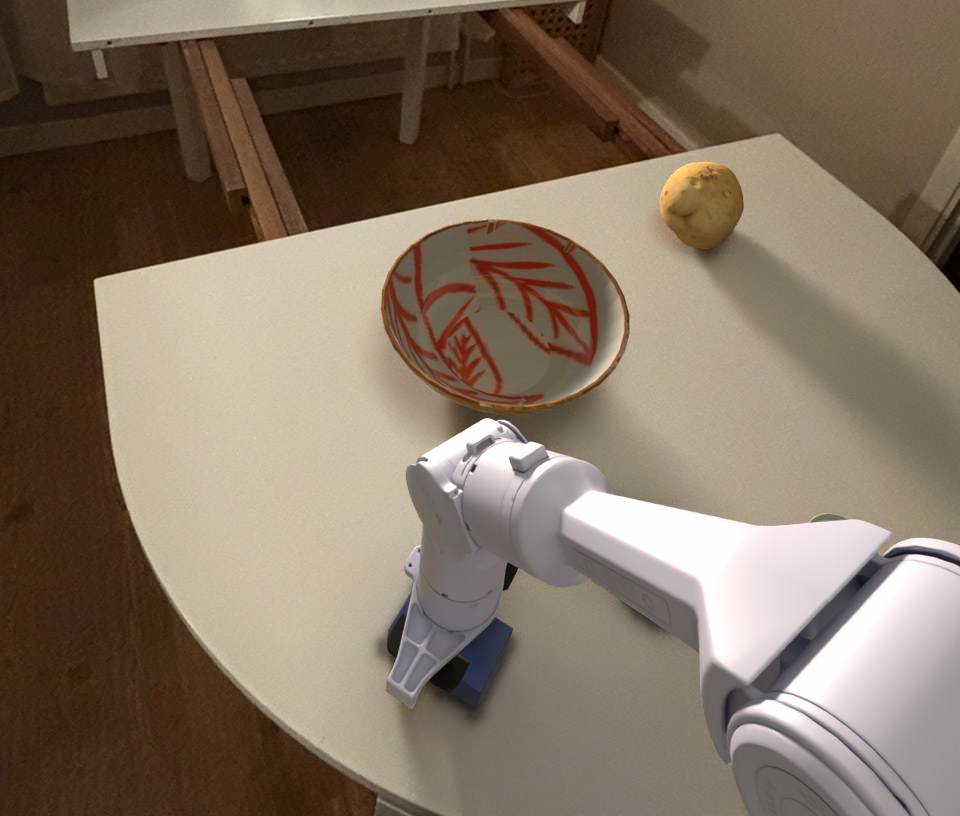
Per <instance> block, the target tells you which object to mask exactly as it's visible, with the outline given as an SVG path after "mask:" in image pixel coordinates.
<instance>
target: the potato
mask: <svg viewBox="0 0 960 816" xmlns="http://www.w3.org/2000/svg"><path fill="white" fill-rule="evenodd" d="M744 202H745V201H744V193H743V189H742V186H741V184H740V182H739V179H738V178H737V176H736V175H735V173H734V172H733V171H732V169H730V168H729V167H728V166H726V165H724V164H721V163H719V162H714V161H695V162H690V163H686V164H684V165H683V166H681V167H679V168H678V169H676V170H675V171H674V172H673V173H672V174H671V175H670V177H669V178H668V179H667V181H666V182H665V184H664V186H663V187H662V190H661V192H660V196H659V211H660V214H661V218H662V219H663V221H664V223H665V225H666V226H667V227H668V229H669V230H670V231H672V232H673V233H674V235H675V236H676V238H677V239H678V240H679V241H681V242H682V243H683V244H685V245H687V246H688V247H692V248H696V249H703V250H704V249H705V250H708V249H715V248H717V247H719V246H721V245H722V244H723V243H725V242H726V241H727V240H728V239H729V238H730V236H731V235H732V234H733V232H734V230H735V228H736V227H737V226H738V223H739V221H740V219H741V218H742V215H743V212H744V208H745V203H744Z"/></svg>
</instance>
